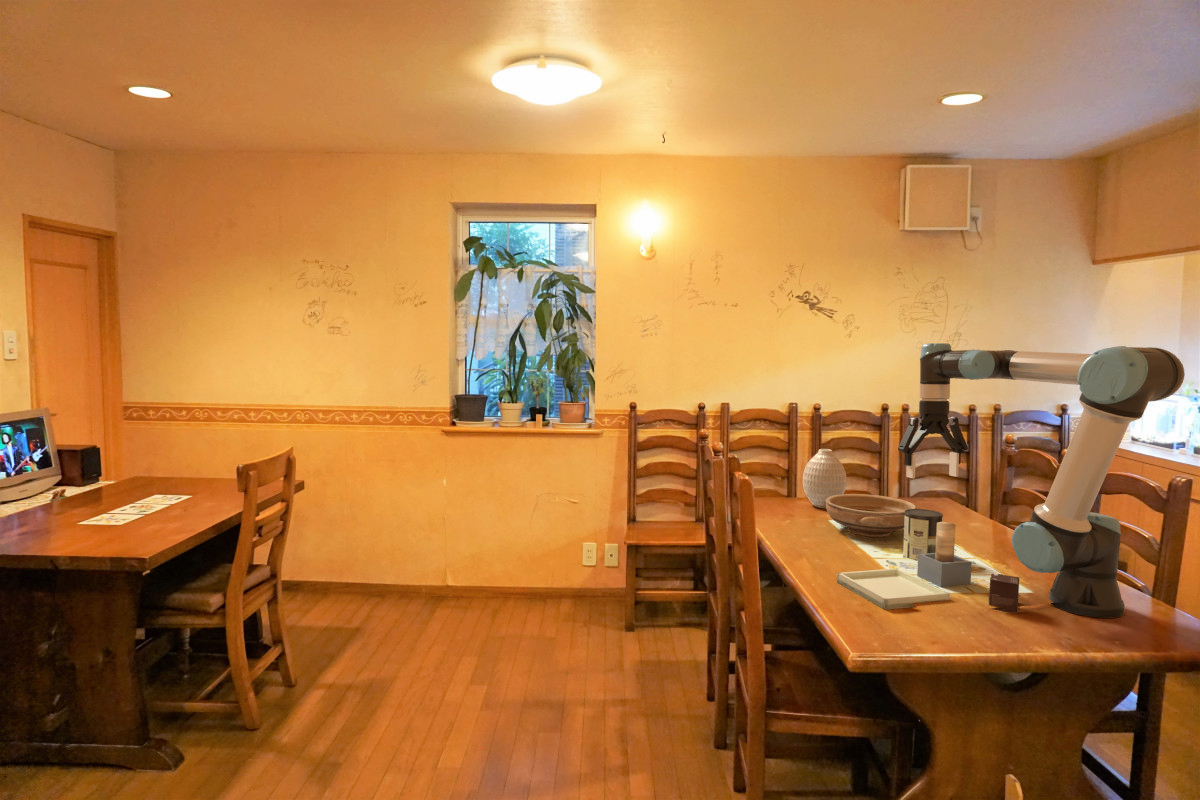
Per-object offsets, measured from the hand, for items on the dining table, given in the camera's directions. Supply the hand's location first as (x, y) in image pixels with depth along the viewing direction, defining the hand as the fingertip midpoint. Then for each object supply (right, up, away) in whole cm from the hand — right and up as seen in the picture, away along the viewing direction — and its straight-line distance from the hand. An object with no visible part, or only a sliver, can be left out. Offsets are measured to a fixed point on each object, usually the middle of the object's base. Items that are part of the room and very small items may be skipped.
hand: (932, 476), depth 199 cm
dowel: (-1, -26, -9) cm, 28 cm away
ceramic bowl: (-1, -23, +44) cm, 49 cm away
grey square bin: (-1, -27, -9) cm, 29 cm away
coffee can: (+3, -26, +13) cm, 29 cm away
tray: (-18, -28, -16) cm, 37 cm away
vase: (-5, -20, +82) cm, 84 cm away
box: (+5, -29, -26) cm, 39 cm away
